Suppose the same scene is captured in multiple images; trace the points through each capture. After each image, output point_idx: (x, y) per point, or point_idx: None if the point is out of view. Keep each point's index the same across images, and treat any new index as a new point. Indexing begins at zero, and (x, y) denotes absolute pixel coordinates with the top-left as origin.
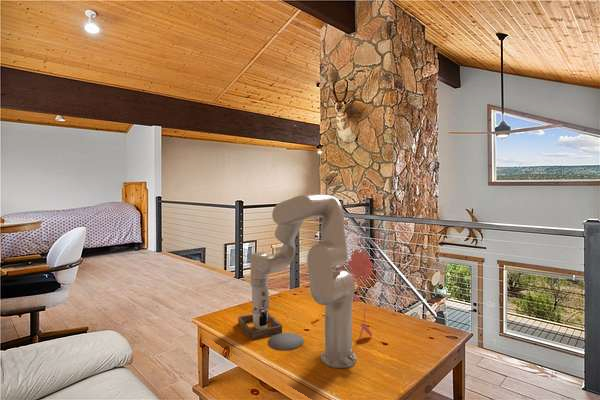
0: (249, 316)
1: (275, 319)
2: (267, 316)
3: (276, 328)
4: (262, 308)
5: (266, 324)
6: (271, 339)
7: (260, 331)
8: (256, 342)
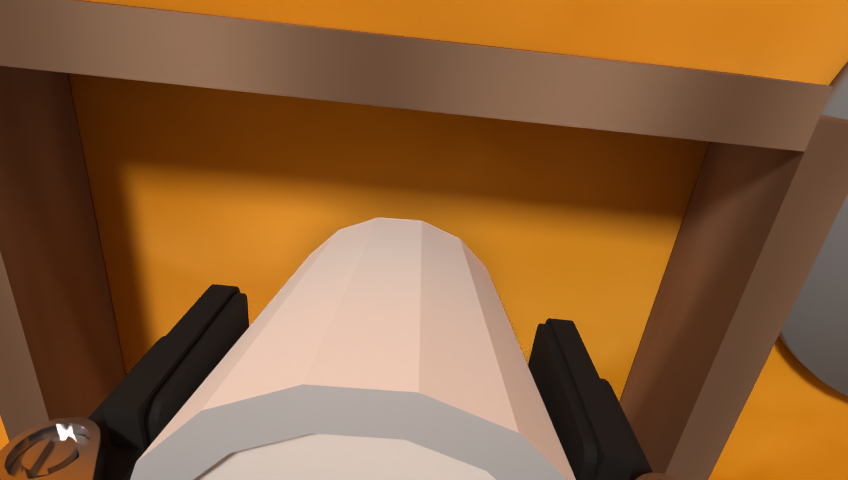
0: (52, 393)
1: (458, 57)
2: (486, 329)
3: (805, 236)
4: (197, 472)
5: (570, 330)
6: (840, 347)
7: (697, 471)
8: (715, 470)
